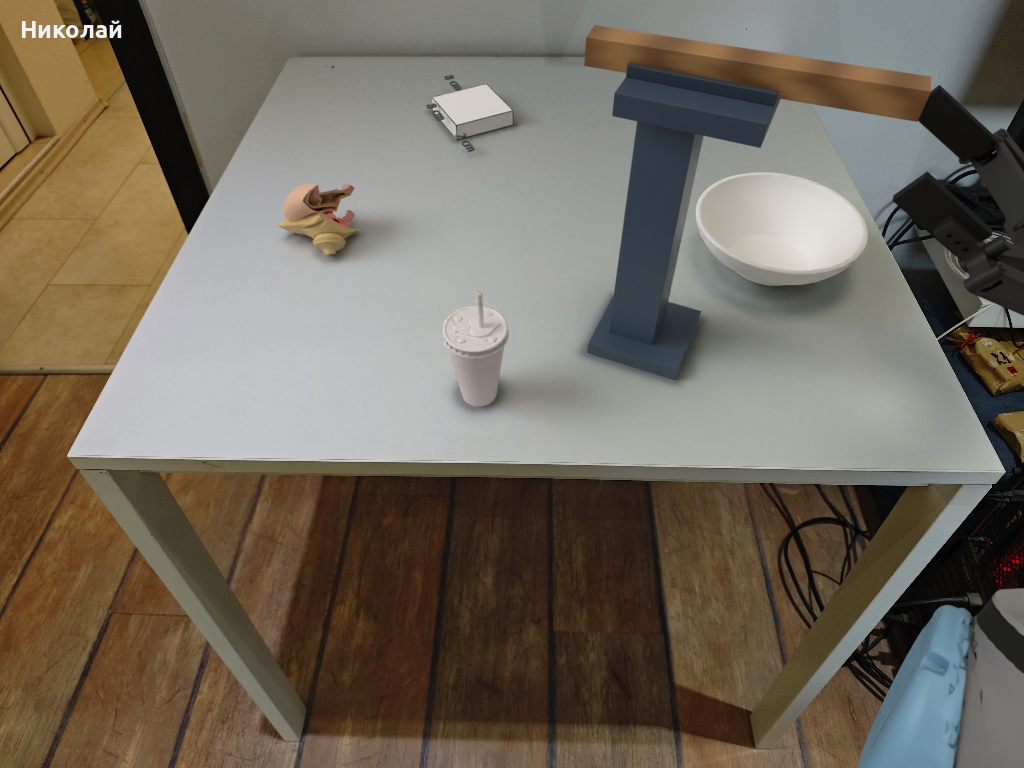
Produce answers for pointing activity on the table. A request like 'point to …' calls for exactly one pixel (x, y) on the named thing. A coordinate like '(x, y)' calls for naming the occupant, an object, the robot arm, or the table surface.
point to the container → (471, 111)
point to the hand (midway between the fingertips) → (916, 138)
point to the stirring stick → (766, 72)
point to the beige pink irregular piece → (318, 216)
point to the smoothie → (476, 350)
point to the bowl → (780, 228)
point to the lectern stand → (667, 204)
